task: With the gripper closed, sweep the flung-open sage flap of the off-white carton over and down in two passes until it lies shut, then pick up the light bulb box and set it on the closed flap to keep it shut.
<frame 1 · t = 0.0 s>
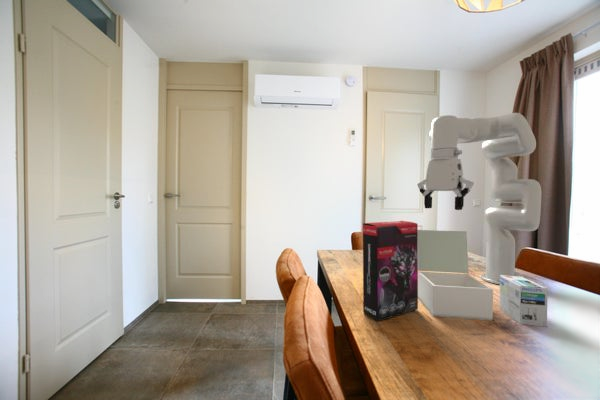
hand: (442, 208, 82), 31 cm above the table, tool pointing down, fingers open, 9 cm apart
lid: (441, 251, 88), point 16 cm above the table, hinge at 98.0°
carton: (451, 307, 81), on the table
graphics card box: (389, 312, 77), on the table
light bulb box: (521, 317, 75), on the table
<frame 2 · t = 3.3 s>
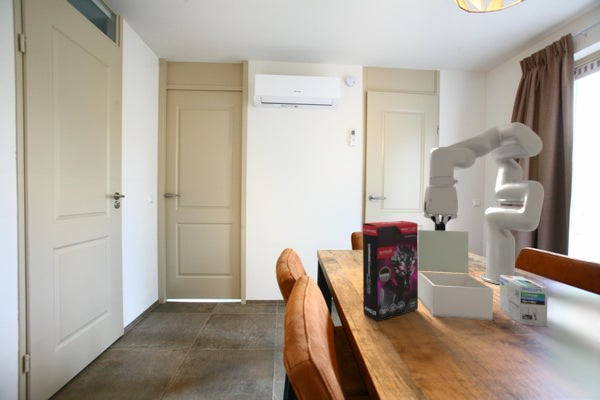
hand: (439, 234, 90), 22 cm above the table, tool pointing down, fingers closed
lid: (442, 251, 88), point 16 cm above the table, hinge at 93.1°, touching gripper
everything else where it was.
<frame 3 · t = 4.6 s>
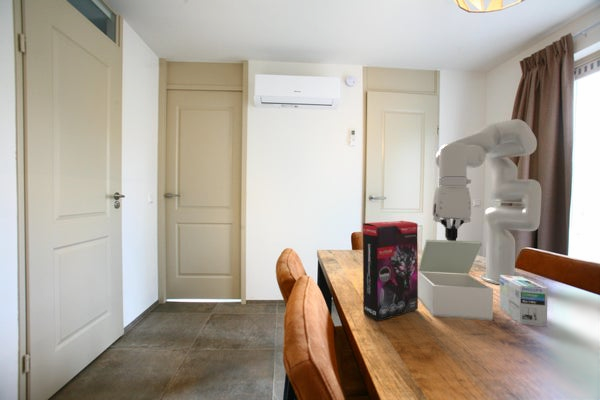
hand: (451, 240, 81), 21 cm above the table, tool pointing down, fingers closed
lid: (447, 257, 83), point 15 cm above the table, hinge at 56.9°, touching gripper
everything else where it was.
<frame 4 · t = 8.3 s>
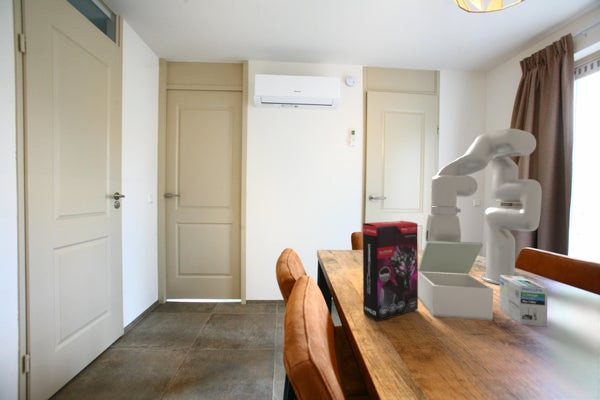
hand: (442, 264, 88), 12 cm above the table, tool pointing down, fingers closed
lid: (448, 257, 83), point 15 cm above the table, hinge at 54.7°, touching gripper
everything else where it was.
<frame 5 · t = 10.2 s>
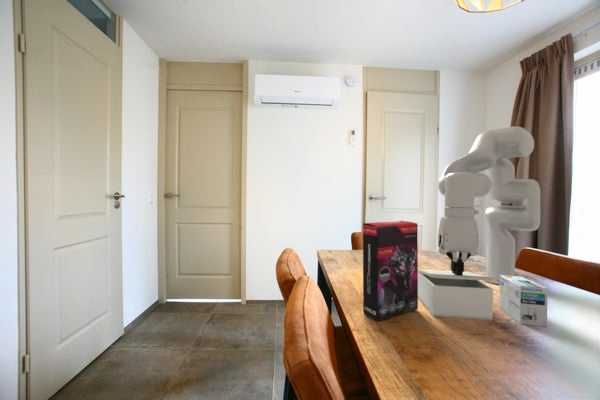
hand: (457, 274, 77), 12 cm above the table, tool pointing down, fingers closed
lid: (451, 274, 80), point 11 cm above the table, hinge at 9.6°
everything else where it was.
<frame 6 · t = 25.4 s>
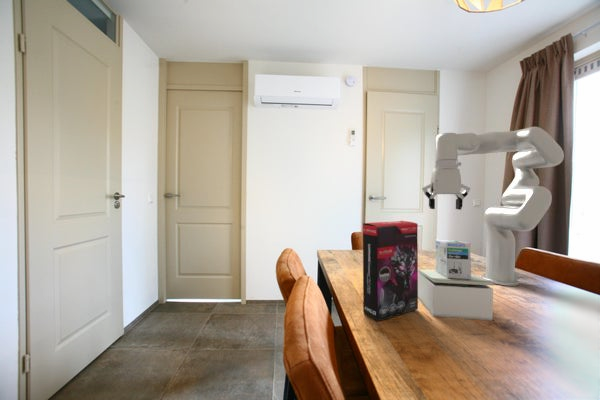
hand: (445, 209, 100), 30 cm above the table, tool pointing down, fingers open, 9 cm apart
lid: (451, 276, 80), point 10 cm above the table, hinge at 4.3°, touching light bulb box
light bulb box: (452, 275, 80), point 10 cm above the table, touching lid
everything else where it was.
at the end: lid at +4° (first picture: +98°); light bulb box inside the target area on the carton (0.1 cm from its centre), point 10.2 cm above the carton's base; light bulb box tilted 5° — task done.
